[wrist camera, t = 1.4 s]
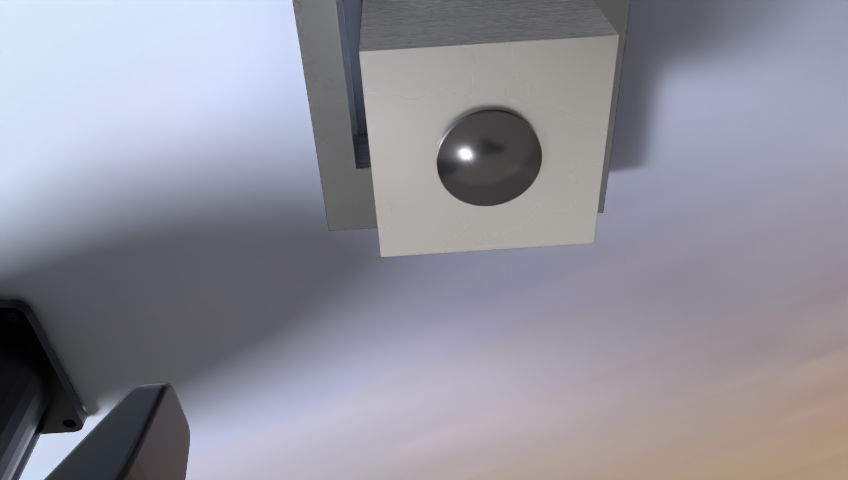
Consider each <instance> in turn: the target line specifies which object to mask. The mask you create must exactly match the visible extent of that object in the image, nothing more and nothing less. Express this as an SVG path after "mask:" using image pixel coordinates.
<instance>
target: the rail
mask: <svg viewBox="0 0 848 480" xmlns="http://www.w3.org/2000/svg"><path fill="white" fill-rule="evenodd" d="M593 1H594V2H595V4H596V5H597V6H598V8H599V9H600V10H601V12H602V13H603V14H604V16H605V17H606V18H607V20H608V21H609V22H610V24H611V25H612V26H613V28H614V29H615V30H616V32H617V33H618V34H619V40H618V48H617V56H616V65H615V73H614V81H613V89H612V97H611V105H610V114H609V122H608V130H607V138H606V146H605V154H604V162H603V171H602V179H601V187H600V195H599V203H598V211H597V213H603V211H604V203H605V195H606V187H607V179H608V172H609V164H610V156H611V148H612V141H613V133H614V125H615V117H616V109H617V102H618V94H619V86H620V78H621V70H622V63H623V55H624V47H625V39H626V32H627V24H628V16H629V8H630V0H593ZM293 7H294V13H295V19H296V26H297V32H298V38H299V44H300V51H301V57H302V63H303V70H304V76H305V82H306V89H307V95H308V101H309V108H310V114H311V120H312V126H313V133H314V139H315V145H316V152H317V158H318V164H319V171H320V177H321V183H322V189H323V196H324V202H325V208H326V215H327V221H328V227H329V231H333V230H348V229H363V228H378V225H377V216H376V206H375V197H374V188H373V178H372V169H371V160H370V150H369V141H368V134H358V128H357V119H356V111H355V102H354V93H353V85H352V76H351V67H350V59H349V50H348V42H347V33H346V24H345V16H344V7H343V0H293Z"/></svg>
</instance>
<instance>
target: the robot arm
mask: <svg viewBox="0 0 848 480" xmlns="http://www.w3.org/2000/svg"><path fill="white" fill-rule="evenodd" d="M12 313H14V314H16V315H18V316H16V315H14V314H12ZM86 418H87V417H86V413H85V411H84V409H83V407H82V406H81V404H80V402H79V400H78V398H77V396H76V394H75V392H74V390H73V388H72V386H71V384H70V382H69V380H68V378H67V376H66V374H65V373H64V371H63V369H62V367H61V365H60V363H59V361H58V359H57V357H56V355H55V353H54V351H53V349H52V347H51V345H50V343H49V341H48V340H47V338H46V336H45V334H44V332H43V330H42V328H41V326H40V324H39V322H38V320H37V318H36V316H35V314H34V312H33V310H32V309H31V308H30V306H29V305H28V304H26V303H24V302H22V301H19V300H13V299H10V300H0V480H19V478H20V476H21V474H22V472H23V470H24V468H25V466H26V464H27V462H28V460H29V458H30V455H31V453H32V451H33V449H34V447H35V445H36V443H37V441H38V439H39V437H40V435H41V434H49V433H64V432H76V431H79V430H81V429H82V427H83V425H84V423H85V420H86ZM189 446H190V430H189V425H188V422H187V420H186V417H185V414H184V412H183V409H182V407H181V404H180V402H179V399H178V397H177V394H176V392H175V390H174V388H173V386H172V385H170V384H169V383H154V384H141V385H138V386H136V387H134V388H133V389H132V390H130V391H129V392H128V393H127V395H126V396H125V397H124V398H123V399H122V400H121V401H120V402H119V403H118V404H117V405H116V406H115V407H114V408H113V409H112V410H111V411H110V412H109V413H108V414H107V415H106V416H105V417H104V418H103V419H102V420H101V421H100V422H99V424H98V425H97V426H96V427H95V428H94V429H93V430H92V431H91V432H90V433H89V434H88V435H87V436H86V437H85V438H84V439H83V440H82V441H81V442H80V443H79V444H78V445H77V446H76V447H75V448H74V449H73V450H72V451H71V452H70V454H69V455H68V456H67V457H66V458H65V459H64V460H63V461H62V462H61V463H60V464H59V465H58V466H57V467H56V468H55V469H54V470H53V471H52V472H51V473H50V474H49V475H48V476H47V477H46V478H45V479H44V480H185V478H186V470H187V462H188V454H189Z"/></svg>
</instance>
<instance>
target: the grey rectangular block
mask: <svg viewBox="0 0 848 480" xmlns="http://www.w3.org/2000/svg"><path fill="white" fill-rule="evenodd" d="M618 40H619V34H618V33H617V32H616V30H615V29H614V28H613V26H612V25H611V24H610V22H609V21H608V20H607V18H606V17H605V16H604V14H603V13H602V12H601V10H600V9H599V8H598V6H597V5H596V4H595V2H594V1H593V0H363V2H362V16H361V30H360V44H359V57H360V66H361V75H362V85H363V94H364V103H365V113H366V122H367V132H368V141H369V150H370V160H371V169H372V178H373V188H374V197H375V206H376V216H377V225H378V234H379V244H380V253H381V257H390V256H405V255H420V254H435V253H450V252H465V251H480V250H495V249H510V248H525V247H541V246H556V245H571V244H586V243H594V236H595V228H596V219H597V211H598V203H599V195H600V187H601V179H602V171H603V162H604V154H605V146H606V138H607V130H608V122H609V114H610V105H611V97H612V89H613V81H614V73H615V65H616V56H617V48H618Z"/></svg>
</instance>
